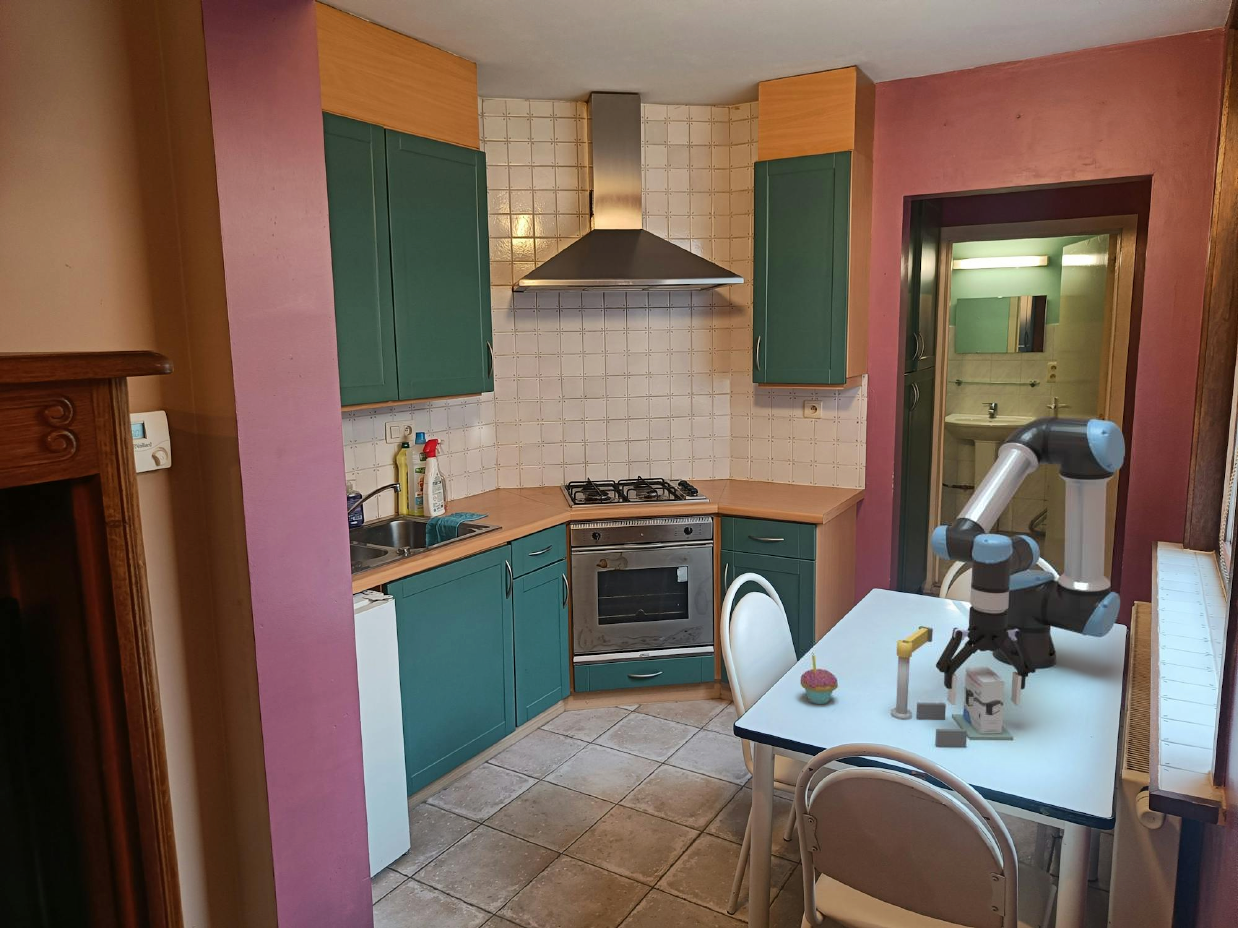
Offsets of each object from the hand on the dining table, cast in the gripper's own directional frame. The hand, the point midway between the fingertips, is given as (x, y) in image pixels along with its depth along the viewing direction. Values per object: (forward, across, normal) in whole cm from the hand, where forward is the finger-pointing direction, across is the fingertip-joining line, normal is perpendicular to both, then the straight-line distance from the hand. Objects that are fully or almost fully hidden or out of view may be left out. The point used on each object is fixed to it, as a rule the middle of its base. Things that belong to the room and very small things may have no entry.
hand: (983, 702), depth 187 cm
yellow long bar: (-8, +12, -11) cm, 18 cm away
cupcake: (+6, +32, -14) cm, 36 cm away
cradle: (+6, +12, 0) cm, 13 cm away
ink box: (+5, 0, 0) cm, 5 cm away
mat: (+6, 0, 0) cm, 6 cm away
